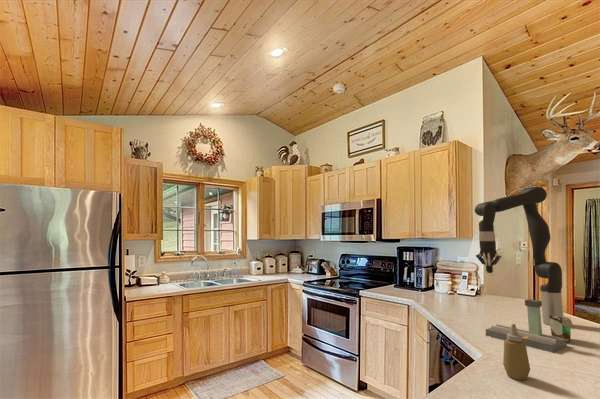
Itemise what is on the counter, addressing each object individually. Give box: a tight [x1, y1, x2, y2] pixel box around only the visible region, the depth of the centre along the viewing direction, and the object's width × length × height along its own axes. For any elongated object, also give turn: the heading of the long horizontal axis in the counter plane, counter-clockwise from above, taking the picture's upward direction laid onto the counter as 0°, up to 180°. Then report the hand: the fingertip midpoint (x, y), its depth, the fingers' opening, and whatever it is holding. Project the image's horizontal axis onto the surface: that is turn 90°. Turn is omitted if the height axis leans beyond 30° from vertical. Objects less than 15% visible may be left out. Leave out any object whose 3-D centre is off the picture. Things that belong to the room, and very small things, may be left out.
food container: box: [549, 315, 573, 344], centre depth 156 cm, size 12×6×10 cm, turn 168°
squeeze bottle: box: [502, 323, 531, 381], centre depth 119 cm, size 8×8×18 cm
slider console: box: [485, 323, 568, 354], centre depth 156 cm, size 14×28×4 cm, turn 33°
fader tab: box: [524, 298, 543, 336], centre depth 153 cm, size 4×5×16 cm
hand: (489, 272), depth 178 cm, fingers closed
